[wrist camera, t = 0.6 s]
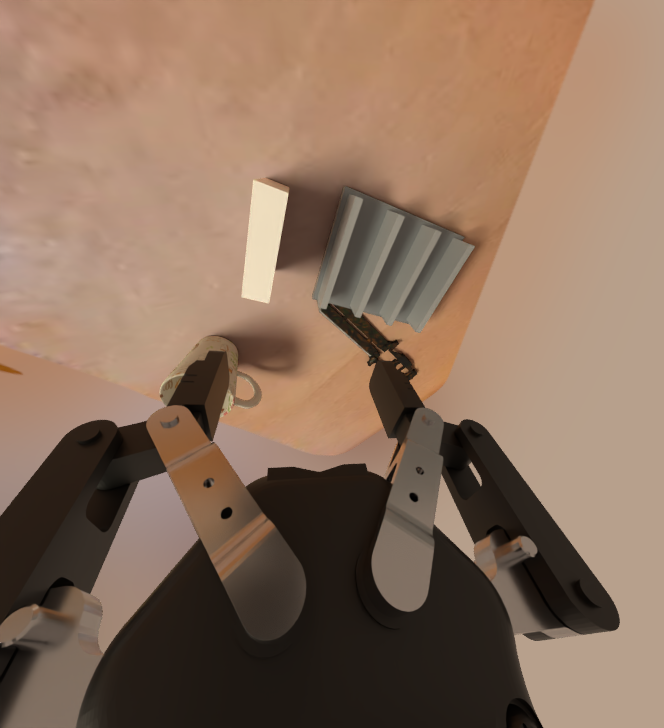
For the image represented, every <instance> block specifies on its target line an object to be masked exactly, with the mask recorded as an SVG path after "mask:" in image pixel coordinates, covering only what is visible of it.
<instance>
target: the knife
mask: <svg viewBox="0 0 664 728" xmlns="http://www.w3.org/2000/svg"><path fill="white" fill-rule="evenodd" d="M317 302H318V307H319V312H320V313H321V314H322V315H323V316H325V317H326V318H327V319H328V320H329V321H330V322H331V323H333V324H334V325H335V326H336V327H337V328H338V329H339V330H340V331H342V332H343V333H344V334H345V335H346V336H347V337H348V338H350V339H351V340H352V341H353V342H354V343H355V344H356V345H357V346H359V347H360V348H361V349H362V350H363V351H364V352H365V353H366V354H368V355H369V358H370V359H369V361H368V362H367V363H368V366H371V365H372V364H373V363H377V361H378V358H377V357H379V356H380V353H379V352H378V350H377V349H376V348H375V347H374V346H372V345H371V344H370V342H373V343H374V344H375V345H376V346H377V347H378V348H379V349H382V350H383V351H384V352H385V351H387V350H388V349H389V350H388V351H390V352H391V353H392V354H393V355H394V356H395V357H396V358H397V359H398V360H396V359H394V360H393V361H392V362H393V364H394V366H395V367H396V366H397V364H400V363H401V364H402V365H403V367H402V368H400V369H399V370H400V371H401V370H403V369H404V368H405V367H406V368H407V369H408V370H409V371H410V372H408V373H407V374H405V376H406V377H407V378H408V380H411V379H413V377H414V376H415V375H417V372H416V370H415V369H413V370H412V368H411V366H412V364H411V362H410V361H409V360H408V359H407V358H406V357H405V355H403V353H402V354H401V355H400V354H399V353H397V352H394V351H392V350H393V349H394V347H396V346H397V345H398V344H399V343H398V342H397V340H395V341H394V342H393V343H390V342H389V341H388V342H387V341H386V340H385V339H384V338H383V337H382V336H381V335H380V334H379V333H378V332H377V331H376V330H375V329H374V328H373V327H372V326H371V325H370V324H369V323H368V322H367V321H366V320H365V319H364V318H363V317H362V316H361V318H358V317H355V316H354V313H353V311H352V309H349V308H346V307H342V306H338V305H334V304H333V305H334V306H335V307H336V308H337V309H338V310H339V311H340V312H342V313H343V314H344V315H345V316H344V317H342V316H340V315H339V314H338V313H337V312H336V311H335V310H334V309H333V308H332V307H331V306H330V305H329V304H328V306H327V309H322V308H320V305H319V300H317ZM347 318H348V319H349V320H350V321H351V322H352V323H353V324H354V325H355V326H356V327H357V328H358V329H359V330H360V331H362V332H363V333H364V334H365V335H366V336H367V337H368V339H367V340H366V339H365V338H364V337H363V336H362V335H361V334H360V333H359V332H358V331H356V330H355V329H354V328H353V327H352V326H351V325H350V324H349V323H348V322H347V321H346V319H347ZM395 360H396V361H395ZM403 374H404V373H403Z"/></svg>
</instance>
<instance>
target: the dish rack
mask: <svg viewBox="0 0 664 728" xmlns="http://www.w3.org/2000/svg"><path fill="white" fill-rule="evenodd" d="M463 239H464V237H463V236H461V235H458V234H456V233H454V232H451V231H449V230H447V229H444V228H442V227H440V226H437V225H435V224H433V223H430V222H428V221H426V220H424V219H421V218H419V217H417V216H414V215H412V214H410V213H407V212H405V211H403V210H400V209H398V208H396V207H393V206H391V205H389V204H386V203H384V202H382V201H379V200H377V199H375V198H372V197H370V196H368V195H365V194H363V193H361V192H358V191H356V190H354V189H351V188H349V187H347V186H344V187H343V190H342V194H341V197H340V201H339V204H338V208H337V211H336V215H335V218H334V222H333V225H332V228H331V232H330V235H329V239H328V242H327V246H326V249H325V253H324V256H323V260H322V263H321V267H320V270H319V274H318V277H317V281H316V284H315V287H314V291H313V294H312V299H315V300H319V305H320V308H322V309H327V306H328V303H330V304H334V305H338V306H342V307H346V308H349V309H352V311H353V313H354V316H355V317H358V318H361V316H362V313H363V312H365V313H369V314H373V315H376V316H380V317H382V318H383V320H384V321H385V323H386V324H387V325H390V326H392V324H393V322H394V320H396V321H399V322H403V323H407V324H410V325H411V327H412V328H413V329H414V330H415V332H418V333H420V332H421V331H422V329H423V328H424V326H425V324H426V323H427V321H428V320H429V318H430V317H431V315H432V313H433V312H434V310H435V309H436V307H437V306H438V304H439V302H440V301H441V299H442V298H443V296H444V294H445V293H446V291H447V290H448V288H449V287H450V285H451V283H452V282H453V280H454V279H455V277H456V276H457V274H458V272H459V271H460V269H461V268H462V266H463V265H464V263H465V261H466V260H467V258H468V257H469V255H470V253H471V252H472V250H473V249H474V247H475V246H473V245H471V244H468V243H466V242H463V241H462V240H463Z"/></svg>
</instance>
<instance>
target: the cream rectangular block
mask: <svg viewBox="0 0 664 728" xmlns="http://www.w3.org/2000/svg"><path fill="white" fill-rule="evenodd" d="M288 194H289V187H287V186H285V185H282V184H280V183H277V182H275V181H272V180H270V179H267V178H261V179H254V180H253V190H252V199H251V209H250V219H249V229H248V238H247V248H246V258H245V267H244V277H243V287H242V296H241V297H244V298H248V299H252V300H256V301H260V302H264V303H269V300H270V295H271V289H272V284H273V278H274V272H275V267H276V261H277V256H278V250H279V244H280V239H281V233H282V228H283V222H284V216H285V211H286V205H287V200H288Z"/></svg>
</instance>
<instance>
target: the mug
mask: <svg viewBox="0 0 664 728" xmlns="http://www.w3.org/2000/svg"><path fill="white" fill-rule="evenodd" d="M209 351H226V352H227V358H228V367H229V377H230V379H229V387H228V391H227V394H226V397H225V401H224V404H223V407H222V411H221V414H220V417H222V416H224V415H226V414H227V413H229V412H230V411H231V409H232V408H233V406H234V405H235V406H238V407H241V408H246V409H249V408H252V407H254V406H256V405H257V404H258V403H259V402H260V400H261V397H262V393H261V389H260V387H259V385H258V384H257V383H256V382H255V381H254V380H253V378H251V377H250V376H249V375H247V374H245V373H242V372H240V371H237V367H238V351H237V348H236V347H235V345H234V344H233V343H232V342H230V341H229V340H227V339H225V338H222V337H219V336H209V337H205V338H203V339H201V340H200V341H199V342H198V343H197V344H196V345H195V346H194V348H193V349H192V350H191V351H190V352H189V353H188V354H187V355H186V357H185V358H184V359H183V360H182V361H181V362H180V363H179V364H178V366H177V367H176V368H175V369H174V370H173V371H172V372H171V374H170V375H169V376H168V377H167V378H166V379H165V381H164V382H163V383H162V385H161V388H160V397H161V400H162V402H163V403H164V404H165V405H166V406H167V405H168V403H169V401H170V399H171V397H172V396H173V394H174V392H175V390H176V388H177V386H178V385H179V383H180V382H181V379H182V377H183V376H184V374H185V372H186V370H187V368H188V366H190V365H191V364H192V363H194V362H195V361H196V360H205V358H206V356H207V353H208V352H209ZM237 376H239V377H241V378H243V379H245V380H246V381H248V382H249V383H250V384H251V386H252V387H253V390H254V396H253V398H252V399H250V400H242V399H239V398H237V397H235V395H236V381H237Z"/></svg>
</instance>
